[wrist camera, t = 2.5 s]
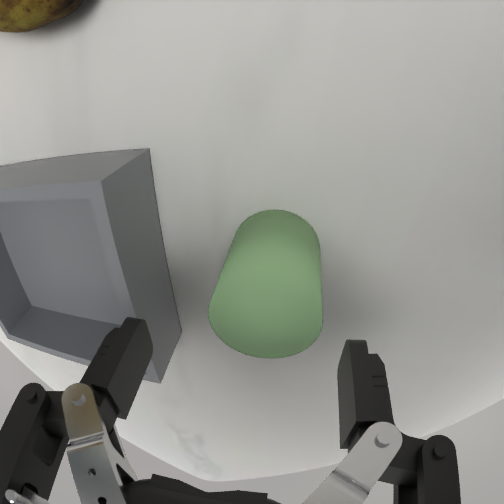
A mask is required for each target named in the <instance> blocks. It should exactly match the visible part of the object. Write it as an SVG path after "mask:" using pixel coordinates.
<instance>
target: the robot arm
mask: <svg viewBox="0 0 504 504" xmlns="http://www.w3.org/2000/svg"><path fill="white" fill-rule="evenodd" d="M152 354H153V343H152V340H151V336H150V333H149V330H148V326H147V323H146V321H145V320H144V319H138V318H132V317H127V318H126V319H125V320H124V322H123V324H122V325H121V327H120V328H117V327H115V328H114V329H113V330H111V331H110V332H109V333H108V334H107V335H106V336H105V338H104V340H103V341H102V343H101V346H100V347H99V348H98V350H97V354H95V356H94V357H93V359H92V361H91V363H90V365H89V366H88V368H87V370H86V372H85V374H84V376H83V378H82V379H81V381H80V382H79V383H76V384H73V385H71V386H69V387H68V388H66V390H65V391H45V389H44V388H43V387H42V386H41V385H40V384H38V383H30V384H27V385H25V386H24V387H23V388H22V389H21V390H20V392H19V394H18V396H17V398H16V400H15V402H14V404H13V406H12V408H11V410H10V412H9V414H8V416H7V418H6V420H5V422H4V424H3V426H2V428H1V430H0V504H49V502H48V499H49V496H50V493H51V490H52V486H53V484H54V481H55V477H56V475H57V472H58V469H59V466H60V463H61V460H62V458H63V455H64V452H65V450H66V451H67V455H68V459H69V463H70V467H71V471H72V474H73V478H74V481H75V484H76V488H77V491H78V494H79V497H80V500H81V503H82V504H280V503H278V502H276V501H274V500H271V499H268V498H267V495H268V494H267V493H258V492H248V491H240V490H237V491H224V492H204V491H202V490H200V489H197V488H195V487H193V486H191V485H189V484H186V483H184V482H182V481H180V480H176V479H172V478H168V477H164V476H159V475H156V474H152V478H151V479H144V480H138V478H137V476H136V474H135V472H134V470H133V469H132V467H131V465H130V464H129V461H128V459H127V457H126V454H125V451H124V449H123V446H122V443H121V441H120V438H119V435H118V432H117V429H116V426H115V424H114V423H115V421H116V419H117V417H118V418H122V419H125V420H126V418H127V416H128V413H129V411H130V408H131V406H132V403H133V401H134V398H135V396H136V394H137V391H138V389H139V386H140V384H141V381H142V379H143V377H144V374H145V372H146V369H147V367H148V365H149V362H150V360H151V358H152ZM337 379H338V398H339V424H340V449H348V455H347V456H346V457H345V458H344V459H343V461H342V462H341V463H340V464H339V465H338V467H337V468H336V469H335V470H334V471H332V473H331V474H330V475H329V476H328V477H327V478H326V479H325V480H324V481H323V482H322V483H321V484H320V486H319V487H318V488H317V489H316V490H315V491H314V492H313V493H312V494H311V495H310V496H309V497H308V498H307V499H306V500H305V502H303V503H302V504H362V503H363V502H364V501H365V499H366V498H367V496H368V494H369V492H370V490H371V489H372V487H373V486H374V485H375V483H376V482H377V481H382V482H386V483H391V484H394V504H461V497H460V484H459V474H458V464H457V456H456V449H455V446H454V444H453V442H452V441H451V440H450V439H449V438H448V437H446V436H443V435H435V436H432V437H430V438H429V439H427V440H423V439H418V438H414V437H410V436H407V435H405V434H403V433H402V432H400V430H399V429H398V428H397V427H396V425H395V423H394V420H393V415H392V408H391V401H390V395H389V389H388V383H387V378H386V371H385V366H384V363H383V362H382V360H381V359H380V357H379V356H378V354H368V347H367V342H366V340H346V342H345V346H344V349H343V352H342V355H341V359H340V362H339V366H338V375H337ZM69 440H70V444H68V441H69ZM67 444H68V445H67Z"/></svg>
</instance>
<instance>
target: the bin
mask: <svg viewBox="0 0 504 504" xmlns="http://www.w3.org/2000/svg"><path fill="white" fill-rule="evenodd" d="M127 317H132V318H138V319H144V320H145V321H146V323H147V326H148V330H149V333H150V336H151V340H152V343H153V354H152V358H151V360H150V362H149V365H148V367H147V369H146V372H145V374H144V377H143V379H142V380H147V381H151V382H156V383H161V381H162V379H163V376H164V374H165V371H166V369H167V367H168V364H169V362H170V359H171V357H172V354H173V352H174V349H175V347H176V344H177V342H178V340H179V337H180V335H181V332H182V331H181V327H180V323H179V318H178V314H177V310H176V305H175V300H174V296H173V291H172V286H171V281H170V276H169V271H168V266H167V261H166V256H165V250H164V245H163V239H162V233H161V228H160V222H159V216H158V209H157V203H156V196H155V190H154V183H153V175H152V168H151V160H150V152H149V149H133V150H120V151H108V152H97V153H87V154H78V155H70V156H62V157H54V158H47V159H40V160H34V161H27V162H21V163H15V164H10V165H4V166H0V326H1V328H2V330H3V331H4V333H5V335H6V336H7V338H8V339H10V340H13V341H16V342H18V343H21V344H24V345H26V346H29V347H32V348H34V349H37V350H40V351H43V352H46V353H49V354H52V355H55V356H58V357H61V358H64V359H67V360H71V361H74V362H77V363H80V364H84V365H87V366H89V365H90V363H91V361H92V359H93V357H94V356H95V354H97V350H98V348H99V347H100V346H101V343H102V341H103V340H104V338H105V336H106V335H107V334H108V333H109V332H110V331H111V330H113V329H114V328H115V327H117V328H120V327H121V325H122V324H123V322H124V320H125V319H126V318H127Z"/></svg>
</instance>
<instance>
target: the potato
mask: <svg viewBox="0 0 504 504" xmlns="http://www.w3.org/2000/svg"><path fill="white" fill-rule="evenodd" d="M82 1H83V0H0V31H2V32H27V31H31V30H34V29H37V28H39V27H42V26H44V25H46V24H49V23H51V22H53V21H56V20H58V19H61V18H63V17H65V16H67V15H69V14H71V13H72V12H73V11H75V10H76V9H77V8H78V6H79V5H80V4H81V3H82Z"/></svg>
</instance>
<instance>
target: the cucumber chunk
mask: <svg viewBox="0 0 504 504" xmlns="http://www.w3.org/2000/svg"><path fill="white" fill-rule="evenodd" d="M208 317H209V321H210V324H211V327H212V328H213V330H214V332H215V333H216V335H217V336H218V337H219V338H220V339H221V340H222V341H223V342H224V343H226V344H227V345H228V346H230V347H231V348H233V349H235V350H237V351H239V352H241V353H244V354H247V355H250V356H254V357H260V358H283V357H288V356H292V355H295V354H297V353H299V352H302V351H303V350H305V349H307V348H308V347H309V346H311V345H312V344H313V343H314V342H315V340H316V339H317V338H318V336H319V334H320V332H321V329H322V288H321V264H320V246H319V240H318V237H317V235H316V232H315V231H314V229H313V228H312V227H311V225H310V224H309V223H308V222H307V221H305V220H304V219H303V218H301V217H300V216H298V215H296V214H294V213H291V212H288V211H283V210H266V211H262V212H259V213H256V214H254V215H252V216H250V217H249V218H247V219H246V220H245V221H244V222H243V223H242V224H241V225H240V227H239V228H238V230H237V232H236V235H235V237H234V240H233V243H232V245H231V248H230V250H229V253H228V256H227V258H226V261H225V264H224V266H223V269H222V272H221V275H220V277H219V280H218V283H217V285H216V288H215V291H214V293H213V296H212V299H211V302H210V305H209V310H208Z"/></svg>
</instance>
